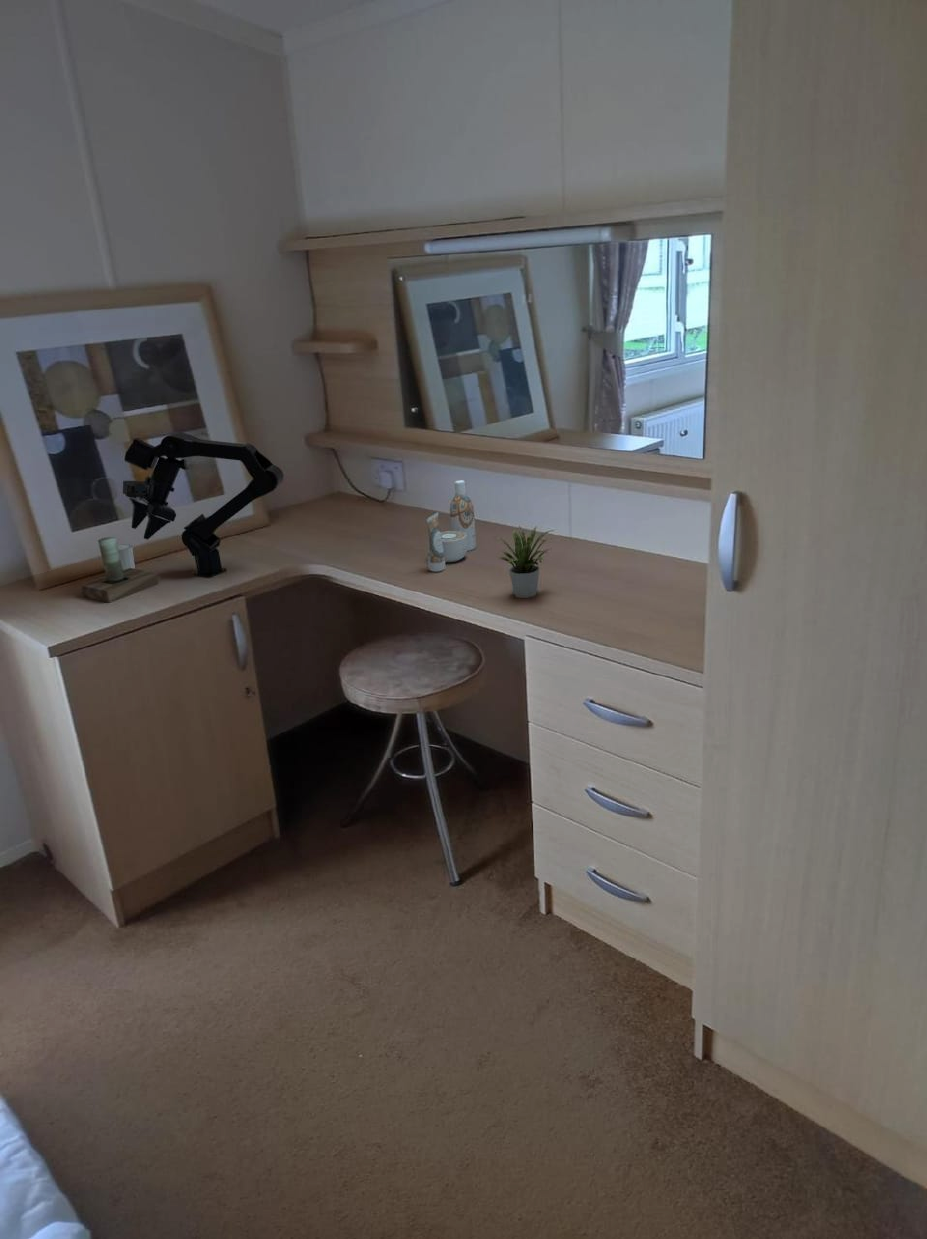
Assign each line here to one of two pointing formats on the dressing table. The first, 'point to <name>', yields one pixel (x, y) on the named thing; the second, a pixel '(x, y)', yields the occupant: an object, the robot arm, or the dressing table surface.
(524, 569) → the house plant
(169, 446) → the robot arm
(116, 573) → the peg
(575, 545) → the dressing table surface
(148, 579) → the board
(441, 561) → the cosmetic set
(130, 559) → the shot glass
